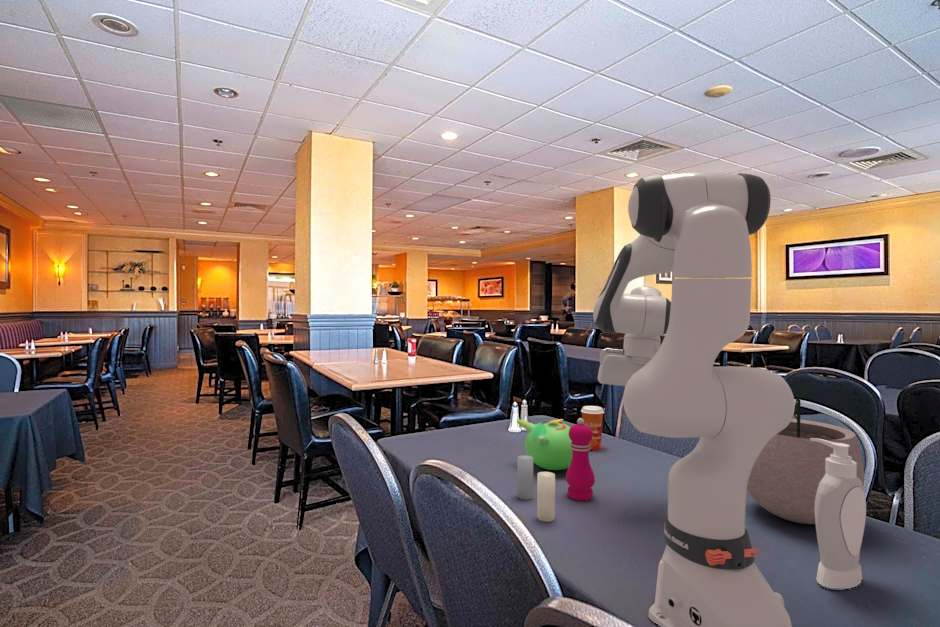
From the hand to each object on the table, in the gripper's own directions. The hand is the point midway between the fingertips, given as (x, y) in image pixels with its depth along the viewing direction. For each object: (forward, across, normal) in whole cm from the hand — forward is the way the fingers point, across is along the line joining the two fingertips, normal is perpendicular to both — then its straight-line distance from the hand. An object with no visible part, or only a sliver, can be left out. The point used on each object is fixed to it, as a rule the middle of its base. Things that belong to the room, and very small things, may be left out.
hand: (637, 406), depth 124 cm
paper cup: (+17, 0, +47) cm, 50 cm away
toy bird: (+22, -17, +26) cm, 38 cm away
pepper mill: (+24, -11, +5) cm, 27 cm away
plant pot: (+21, +36, -6) cm, 42 cm away
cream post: (+27, -21, -9) cm, 36 cm away
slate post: (+26, -25, +3) cm, 36 cm away
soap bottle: (+26, +28, -31) cm, 49 cm away
